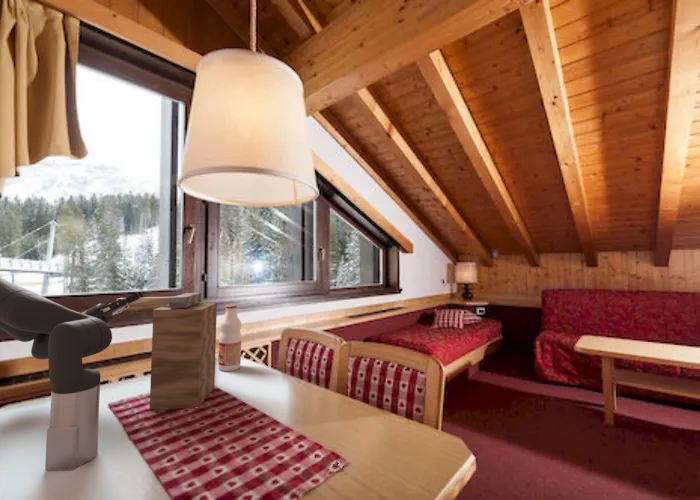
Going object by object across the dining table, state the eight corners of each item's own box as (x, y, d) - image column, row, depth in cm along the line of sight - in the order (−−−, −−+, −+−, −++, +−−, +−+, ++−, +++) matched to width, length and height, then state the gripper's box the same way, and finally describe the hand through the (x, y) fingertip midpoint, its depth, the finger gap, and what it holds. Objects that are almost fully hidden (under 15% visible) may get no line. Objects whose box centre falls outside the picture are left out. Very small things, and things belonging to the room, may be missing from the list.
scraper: (185, 307, 112) (185, 297, 112) (104, 310, 109) (104, 299, 109) (201, 301, 128) (201, 292, 128) (130, 303, 125) (130, 294, 125)
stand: (198, 408, 110) (201, 309, 111) (149, 409, 109) (153, 309, 110) (214, 387, 128) (216, 302, 129) (172, 388, 127) (175, 302, 128)
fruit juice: (235, 372, 146) (237, 307, 147) (214, 371, 147) (216, 306, 148) (243, 365, 155) (245, 304, 156) (224, 364, 156) (225, 303, 157)
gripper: (73, 312, 109) (124, 286, 111) (100, 306, 123) (145, 283, 125) (85, 333, 109) (135, 306, 111) (110, 324, 123) (155, 301, 125)
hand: (140, 294), depth 118 cm, fingers closed on scraper, 2 cm apart
